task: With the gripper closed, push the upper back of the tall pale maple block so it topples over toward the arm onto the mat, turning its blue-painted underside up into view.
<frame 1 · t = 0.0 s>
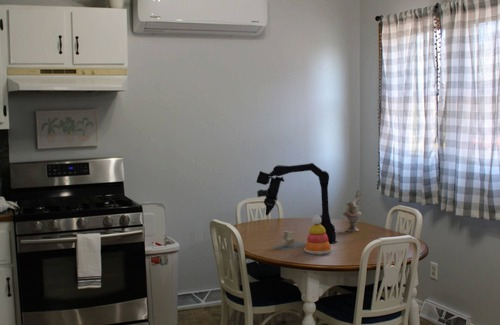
hand: (267, 214, 308), 15 cm above the table, tool pointing down, fingers open, 9 cm apart
decorative bust: (351, 231, 334), on the table
block: (288, 246, 295), resting on mat
mat: (291, 246, 297), on the table
stacking toy: (317, 252, 283), on the table
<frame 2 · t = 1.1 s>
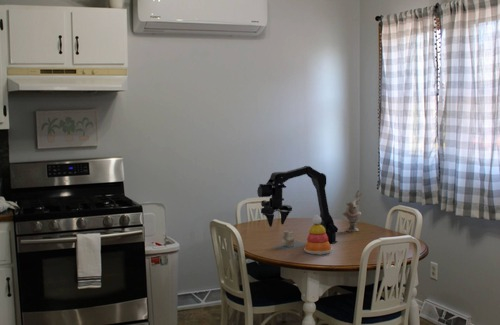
hand: (276, 225, 291), 12 cm above the table, tool pointing down, fingers open, 9 cm apart
nothing on the table moved.
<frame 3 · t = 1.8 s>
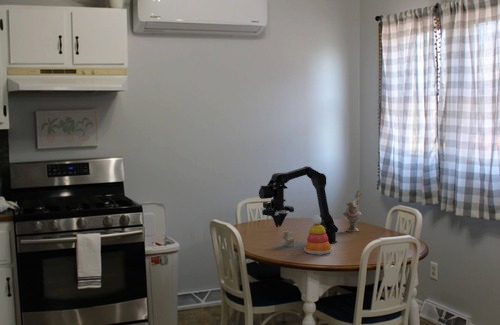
hand: (278, 226, 289), 12 cm above the table, tool pointing down, fingers closed
nothing on the table moved.
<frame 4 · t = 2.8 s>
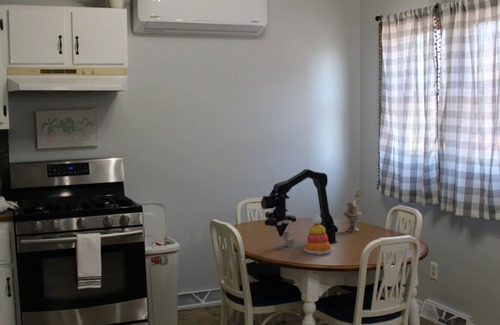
hand: (280, 236, 290), 7 cm above the table, tool pointing down, fingers closed
nothing on the table moved.
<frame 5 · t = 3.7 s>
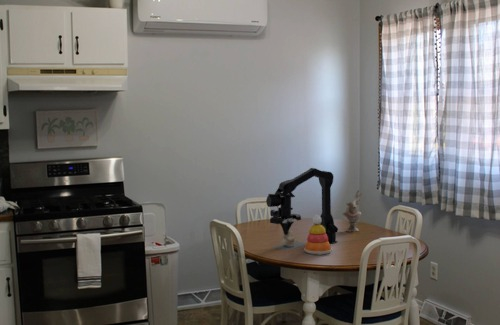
hand: (285, 234, 293), 7 cm above the table, tool pointing down, fingers closed
block: (288, 246, 295), resting on mat, touching gripper
everything else where it was.
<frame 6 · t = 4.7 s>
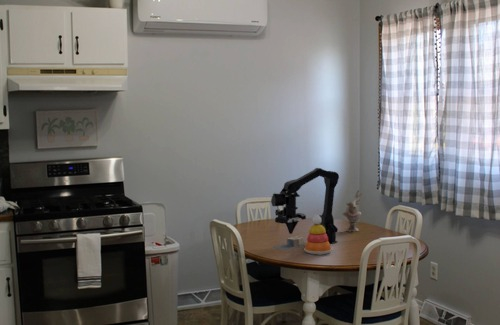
hand: (290, 233, 296), 7 cm above the table, tool pointing down, fingers closed
block: (290, 242, 296), point 2 cm above the table, tilted 90°, touching mat
everything else where it was.
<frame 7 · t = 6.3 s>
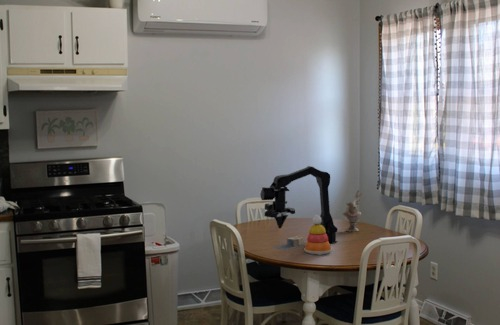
hand: (279, 228, 295), 10 cm above the table, tool pointing down, fingers closed
nothing on the table moved.
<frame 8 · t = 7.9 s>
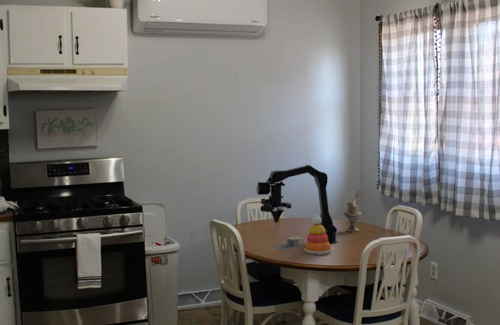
hand: (276, 222, 298), 12 cm above the table, tool pointing down, fingers closed
nothing on the table moved.
at the end: block tilted 90°; block inside the target area (2.2 cm from its centre), point 2.0 cm above the table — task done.
